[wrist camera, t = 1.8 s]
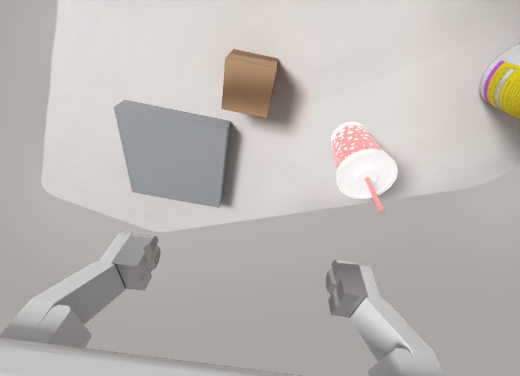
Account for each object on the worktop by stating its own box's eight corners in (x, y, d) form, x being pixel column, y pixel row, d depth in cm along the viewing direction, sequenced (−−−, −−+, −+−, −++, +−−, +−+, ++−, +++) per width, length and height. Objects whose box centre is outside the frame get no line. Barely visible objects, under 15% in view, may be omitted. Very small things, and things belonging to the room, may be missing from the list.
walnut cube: (233, 48, 27) (225, 58, 23) (277, 58, 27) (276, 69, 23) (229, 93, 30) (221, 109, 26) (268, 102, 30) (266, 118, 26)
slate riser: (124, 99, 31) (113, 106, 29) (230, 121, 32) (227, 129, 30) (139, 182, 40) (132, 192, 38) (222, 197, 41) (219, 207, 39)
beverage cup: (365, 158, 34) (403, 235, 23) (321, 156, 34) (339, 231, 23) (379, 116, 30) (433, 186, 19) (330, 114, 30) (356, 182, 20)
